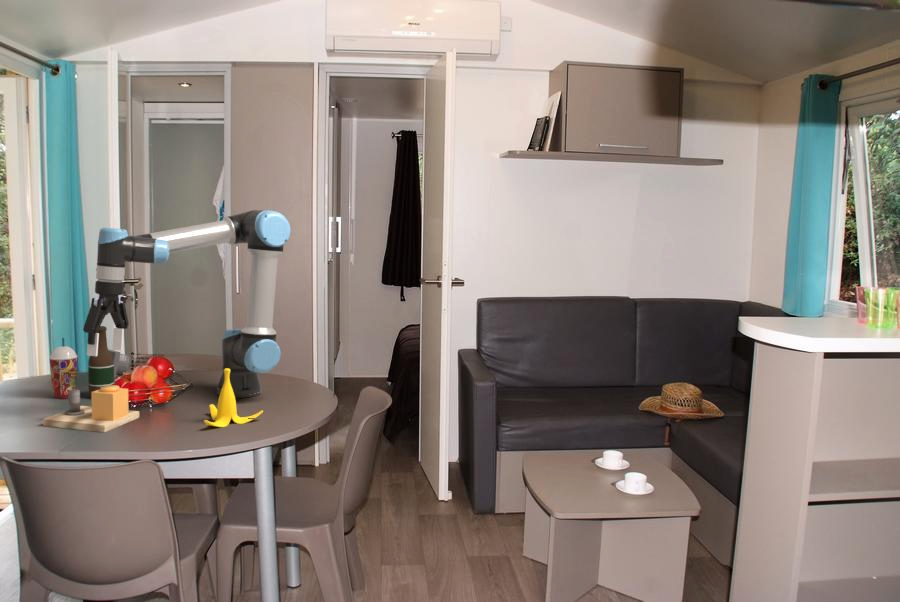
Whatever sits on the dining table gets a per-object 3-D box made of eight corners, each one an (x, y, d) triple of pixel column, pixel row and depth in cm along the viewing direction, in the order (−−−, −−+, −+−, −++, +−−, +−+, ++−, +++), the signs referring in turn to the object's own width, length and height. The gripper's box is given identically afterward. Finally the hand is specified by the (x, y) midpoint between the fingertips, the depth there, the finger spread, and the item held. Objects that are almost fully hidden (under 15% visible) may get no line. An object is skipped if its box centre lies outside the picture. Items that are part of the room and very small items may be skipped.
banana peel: (211, 414, 226) (211, 362, 224) (264, 421, 221) (265, 367, 219) (177, 428, 210) (177, 372, 208) (233, 435, 205) (234, 378, 203)
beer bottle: (90, 394, 243) (88, 325, 240) (115, 393, 246) (114, 324, 243) (87, 400, 236) (86, 328, 233) (113, 399, 239) (112, 328, 236)
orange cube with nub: (128, 414, 214) (128, 385, 213) (113, 421, 207) (112, 390, 206) (107, 412, 215) (107, 383, 214) (91, 418, 208) (91, 388, 207)
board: (139, 417, 218) (139, 388, 217) (104, 432, 203) (104, 401, 202) (81, 411, 222) (81, 383, 221) (43, 425, 206) (42, 395, 205)
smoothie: (77, 399, 237) (75, 339, 235) (48, 400, 234) (47, 340, 231) (79, 393, 244) (78, 335, 242) (52, 394, 241) (50, 336, 239)
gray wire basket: (90, 378, 268) (89, 352, 266) (105, 371, 279) (105, 346, 278) (160, 381, 267) (160, 354, 266) (172, 374, 279) (172, 349, 277)
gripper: (120, 278, 221) (115, 346, 222) (72, 280, 196) (67, 356, 198) (143, 281, 221) (138, 348, 222) (98, 283, 196) (93, 359, 197)
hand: (105, 352), depth 210 cm, fingers open, 13 cm apart
